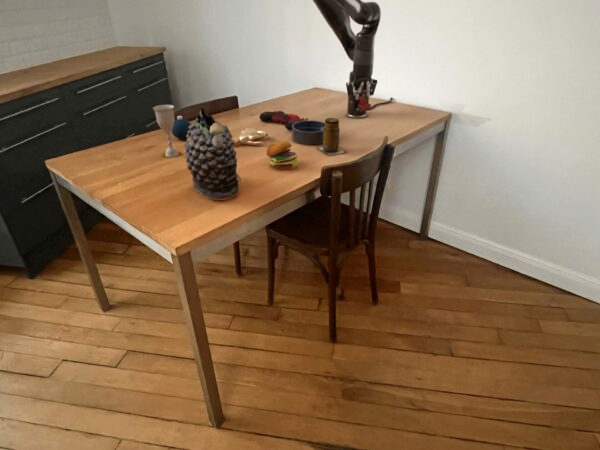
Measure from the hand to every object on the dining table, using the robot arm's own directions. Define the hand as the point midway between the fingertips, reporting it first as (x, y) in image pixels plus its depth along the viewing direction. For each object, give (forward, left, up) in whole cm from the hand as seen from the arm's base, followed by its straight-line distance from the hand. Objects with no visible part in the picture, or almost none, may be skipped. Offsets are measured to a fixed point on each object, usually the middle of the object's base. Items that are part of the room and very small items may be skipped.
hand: (360, 107), depth 162 cm
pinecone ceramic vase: (+66, -20, -13) cm, 70 cm away
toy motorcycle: (-3, -37, -13) cm, 40 cm away
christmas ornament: (+37, -63, -13) cm, 74 cm away
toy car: (0, 0, -1) cm, 1 cm away
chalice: (+52, -54, -13) cm, 76 cm away
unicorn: (+25, -38, -13) cm, 47 cm away
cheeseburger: (+39, -12, -13) cm, 43 cm away
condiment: (+17, -4, -13) cm, 22 cm away
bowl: (+10, -17, -13) cm, 24 cm away
